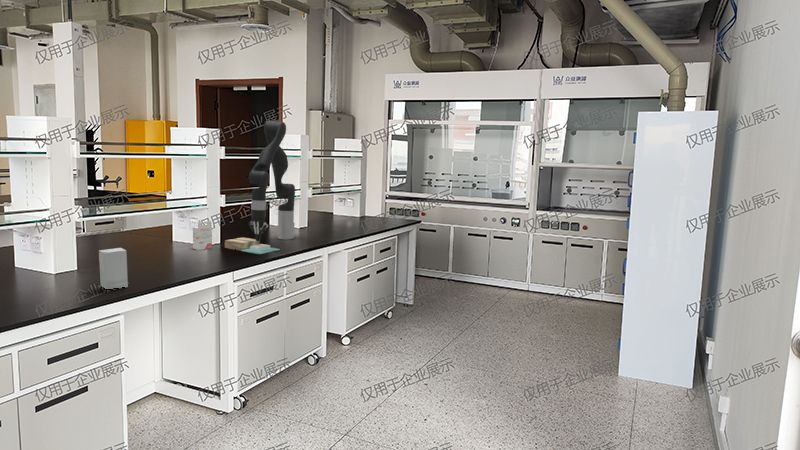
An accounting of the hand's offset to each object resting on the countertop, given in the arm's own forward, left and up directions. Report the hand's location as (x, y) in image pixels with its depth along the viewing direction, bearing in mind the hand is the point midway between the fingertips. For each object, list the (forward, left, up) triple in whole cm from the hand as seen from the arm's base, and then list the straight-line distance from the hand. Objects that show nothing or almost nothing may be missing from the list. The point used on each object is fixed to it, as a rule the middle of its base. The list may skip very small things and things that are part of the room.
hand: (258, 240), depth 297 cm
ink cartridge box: (+16, -24, -5) cm, 29 cm away
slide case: (0, +1, -2) cm, 3 cm away
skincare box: (+92, +10, -5) cm, 93 cm away
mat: (0, +2, -5) cm, 5 cm away
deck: (0, -11, -5) cm, 12 cm away
